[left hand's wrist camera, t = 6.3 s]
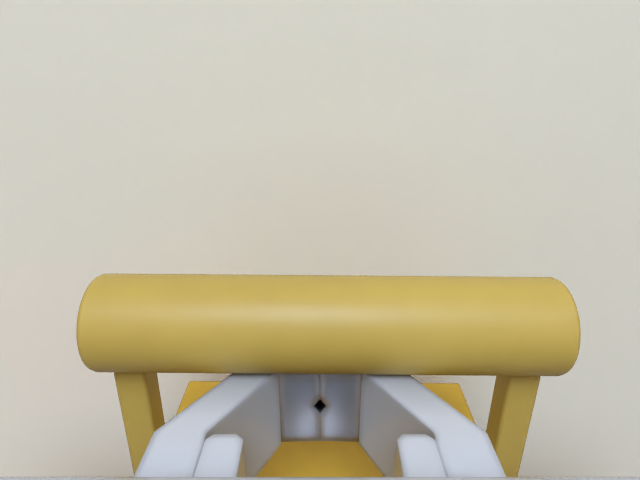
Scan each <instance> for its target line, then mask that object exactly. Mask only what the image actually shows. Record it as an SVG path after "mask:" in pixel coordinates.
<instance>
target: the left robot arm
mask: <svg viewBox="0 0 640 480" xmlns="http://www.w3.org/2000/svg"><path fill="white" fill-rule="evenodd" d="M296 441H344V442H359V445H360V446H361V447H362V448H363V450H364V451H365V452H366V454H367V455H368V456H369V458H370V459H371V460H372V462H373V463H374V464H375V465H376V467H377V468H378V469H379V471H380V472H381V473H382V475H383V476H384V477H256V476H257V475H258V474H259V472H260V471H261V470H262V468H263V467H264V466H265V465H266V463H267V462H268V461H269V459H270V458H271V457H272V456H273V454H274V453H275V452H276V450H277V449H278V448H279V446H280V445H281V442H296ZM0 480H640V477H506V475H505V473H504V470H503V468H502V466H501V464H500V461H499V459H498V457H497V455H496V452H495V450H494V448H493V446H492V443H491V441H490V439H489V437H488V434H487V433H486V432H485V431H484V430H482V429H481V428H480V427H478V426H477V425H476V424H474V423H473V422H472V421H470V420H469V419H468V418H466V417H465V416H464V415H462V414H461V413H460V412H458V411H457V410H456V409H454V408H453V407H452V406H450V405H449V404H448V403H446V402H445V401H444V400H442V399H441V398H440V397H438V396H437V395H436V394H434V393H433V392H432V391H430V390H429V389H428V388H426V387H425V386H424V385H423V384H421V383H420V382H419V381H417V380H416V379H415V378H413V377H412V376H411V375H376V374H262V373H232V374H231V375H230V376H228V377H227V378H226V379H224V380H223V381H222V382H220V383H219V384H217V385H216V386H215V387H213V388H212V389H211V390H209V391H208V392H207V393H205V394H204V395H203V396H201V397H200V398H199V399H197V400H196V401H195V402H193V403H192V404H191V405H189V406H188V407H187V408H185V409H184V410H183V411H181V412H180V413H179V414H177V415H176V416H175V417H173V418H172V419H171V420H169V421H168V422H167V423H165V424H164V425H163V426H161V427H160V428H159V429H157V430H156V431H155V432H154V433H153V435H152V437H151V440H150V442H149V444H148V446H147V448H146V451H145V453H144V455H143V457H142V460H141V462H140V464H139V466H138V468H137V471H136V473H135V475H134V477H0Z"/></svg>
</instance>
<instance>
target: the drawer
mask: <svg viewBox="0 0 640 480" xmlns="http://www.w3.org/2000/svg"><path fill="white" fill-rule="evenodd" d="M77 345H78V350H79V354H80V357H81V359H82V361H83V363H84V364H85V365H86V367H88V368H89V369H91V370H93V371H95V372H114V376H115V381H116V386H117V391H118V396H119V401H120V406H121V411H122V416H123V421H124V426H125V431H126V436H127V441H128V446H129V451H130V456H131V461H132V466H133V470H134V475H135V473H136V471H137V468H138V466H139V464H140V462H141V460H142V457H143V455H144V453H145V451H146V448H147V446H148V444H149V442H150V440H151V437H152V435H153V433H154V432H155V431H156V430H157V429H159V428H160V427H161V426H163V425H164V424H165V423H164V416H163V410H162V404H161V397H160V391H159V385H158V378H157V373H262V374H376V375H490V376H496V382H495V387H494V392H493V398H492V403H491V408H490V414H489V419H488V424H487V430H486V433H487V434H488V437H489V439H490V441H491V443H492V446H493V448H494V450H495V452H496V455H497V457H498V459H499V461H500V464H501V466H502V468H503V470H504V473H505V475H506V477H517V476H518V472H519V467H520V463H521V459H522V454H523V450H524V446H525V442H526V437H527V433H528V429H529V424H530V420H531V416H532V411H533V407H534V403H535V398H536V394H537V390H538V385H539V381H540V376H560V375H563V374H565V373H567V372H568V371H569V370H570V369H571V368H572V367H573V365H574V364H575V362H576V359H577V356H578V353H579V348H580V321H579V316H578V311H577V308H576V305H575V302H574V299H573V297H572V295H571V293H570V292H569V290H568V289H567V287H566V286H565V285H564V284H563V283H562V282H560V281H559V280H557V279H554V278H551V277H458V276H334V275H211V274H103V275H100V276H98V277H97V278H95V279H94V280H93V281H92V282H91V283H90V285H89V286H88V287H87V289H86V291H85V293H84V296H83V298H82V301H81V304H80V308H79V312H78V318H77ZM220 382H222V381H190V382H189V384H188V387H187V389H186V392H185V394H184V397H183V399H182V401H181V404H180V406H179V409H178V411H177V414H179V413H180V412H181V411H183V410H184V409H185V408H187V407H188V406H189V405H191V404H192V403H193V402H195V401H196V400H197V399H199V398H200V397H201V396H203V395H204V394H205V393H207V392H208V391H209V390H211V389H212V388H213V387H215V386H216V385H217V384H219V383H220ZM421 384H423V385H424V386H425V387H426V388H428V389H429V390H430V391H432V392H433V393H434V394H436V395H437V396H438V397H440V398H441V399H442V400H444V401H445V402H446V403H448V404H449V405H450V406H452V407H453V408H454V409H456V410H457V411H458V412H460V413H461V414H462V415H464V416H465V417H466V418H468V419H469V420H470V421H472V422H473V423H474V424H475V422H474V419H473V417H472V414H471V412H470V410H469V407H468V405H467V402H466V400H465V398H464V395H463V393H462V390H461V388H460V385H459V384H454V383H421ZM177 414H176V415H177ZM256 477H384V476H383V475H382V473H381V472H380V471H379V469H378V468H377V467H376V465H375V464H374V463H373V462H372V460H371V459H370V458H369V456H368V455H367V454H366V452H365V451H364V450H363V448H362V447H361V446H360V445H359V442H344V441H296V442H281V445H280V446H279V448H278V449H277V450H276V452H275V453H274V454H273V456H272V457H271V458H270V459H269V461H268V462H267V463H266V465H265V466H264V467H263V468H262V470H261V471H260V472H259V474H258V475H257V476H256Z"/></svg>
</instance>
